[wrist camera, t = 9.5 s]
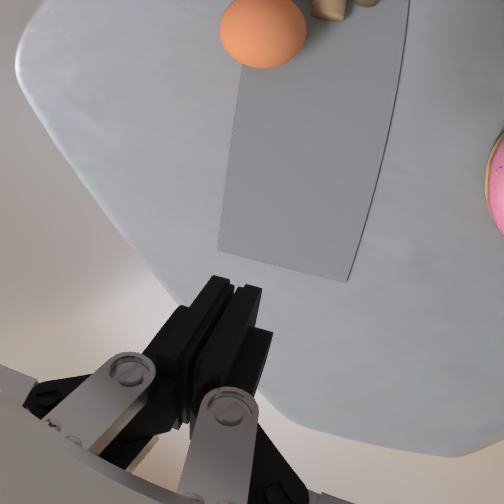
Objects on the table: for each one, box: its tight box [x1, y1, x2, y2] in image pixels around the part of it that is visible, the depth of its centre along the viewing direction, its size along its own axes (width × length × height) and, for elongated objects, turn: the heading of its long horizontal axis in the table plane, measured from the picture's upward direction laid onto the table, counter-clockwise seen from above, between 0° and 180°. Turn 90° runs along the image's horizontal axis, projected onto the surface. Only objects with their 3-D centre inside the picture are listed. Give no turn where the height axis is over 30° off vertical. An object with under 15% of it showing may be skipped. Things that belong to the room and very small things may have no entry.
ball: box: [219, 0, 306, 68], centre depth 18 cm, size 6×6×6 cm
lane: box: [218, 0, 409, 283], centre depth 22 cm, size 12×32×1 cm, turn 171°
